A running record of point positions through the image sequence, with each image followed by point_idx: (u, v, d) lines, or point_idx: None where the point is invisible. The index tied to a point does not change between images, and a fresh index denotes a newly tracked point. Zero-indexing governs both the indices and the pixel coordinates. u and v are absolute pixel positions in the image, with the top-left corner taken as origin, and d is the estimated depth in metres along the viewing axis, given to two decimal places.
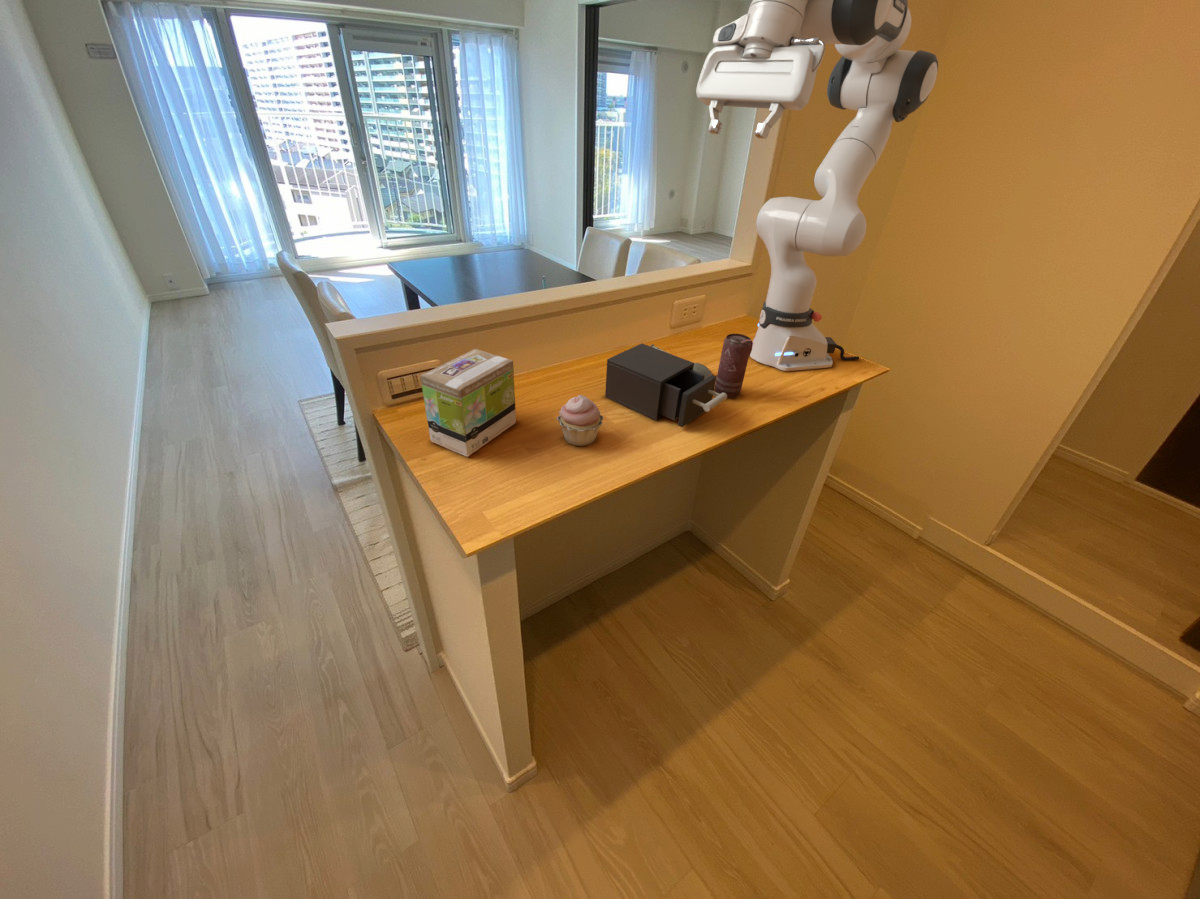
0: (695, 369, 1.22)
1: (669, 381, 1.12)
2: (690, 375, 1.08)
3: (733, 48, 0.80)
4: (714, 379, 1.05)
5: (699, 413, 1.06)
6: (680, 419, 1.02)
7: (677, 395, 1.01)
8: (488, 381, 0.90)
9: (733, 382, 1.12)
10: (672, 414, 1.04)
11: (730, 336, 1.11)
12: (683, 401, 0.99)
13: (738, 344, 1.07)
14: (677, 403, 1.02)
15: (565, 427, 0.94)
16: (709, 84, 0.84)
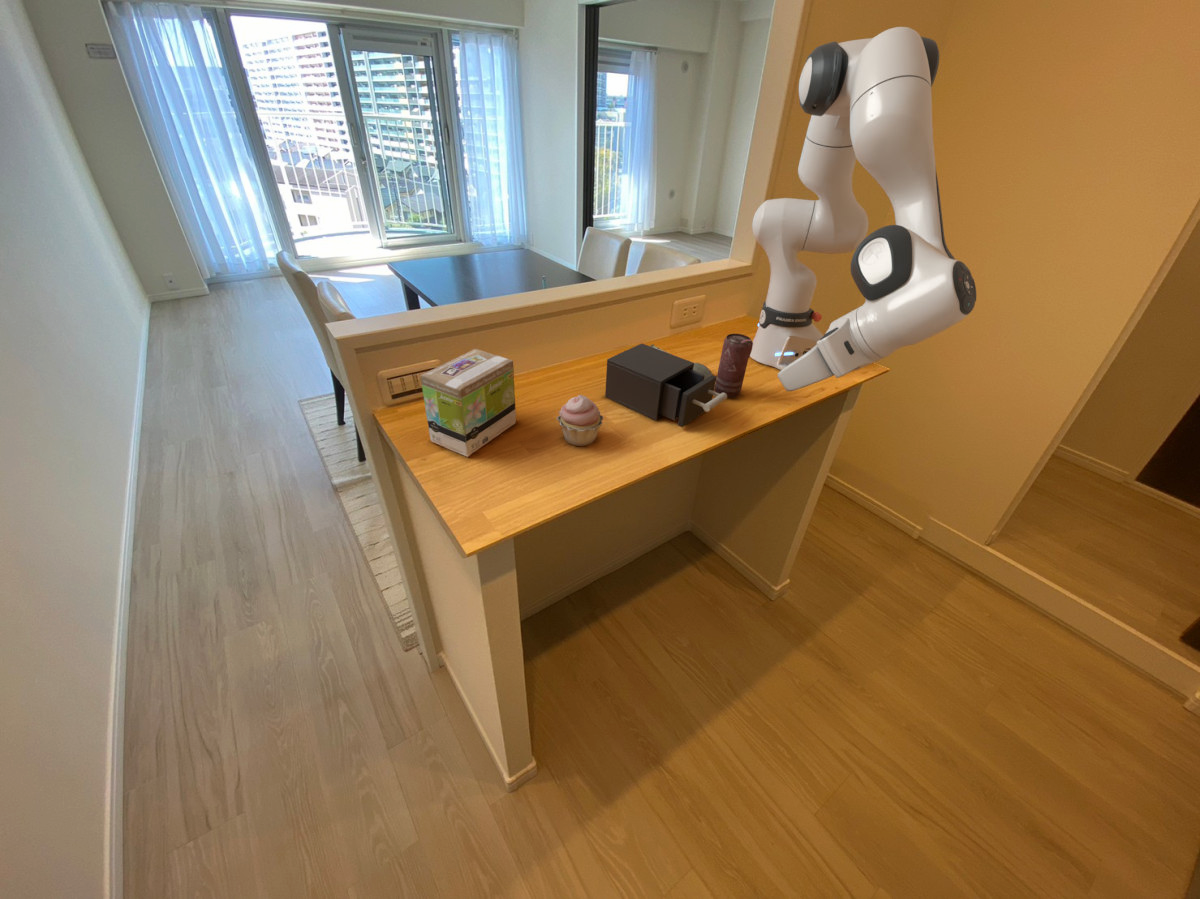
0: (695, 369, 1.22)
1: (669, 381, 1.12)
2: (690, 375, 1.08)
3: None
4: (714, 379, 1.05)
5: (699, 413, 1.06)
6: (680, 419, 1.02)
7: (677, 395, 1.01)
8: (488, 381, 0.90)
9: (733, 382, 1.12)
10: (672, 414, 1.04)
11: (730, 336, 1.11)
12: (683, 401, 0.99)
13: (738, 344, 1.07)
14: (677, 403, 1.02)
15: (565, 427, 0.94)
16: None
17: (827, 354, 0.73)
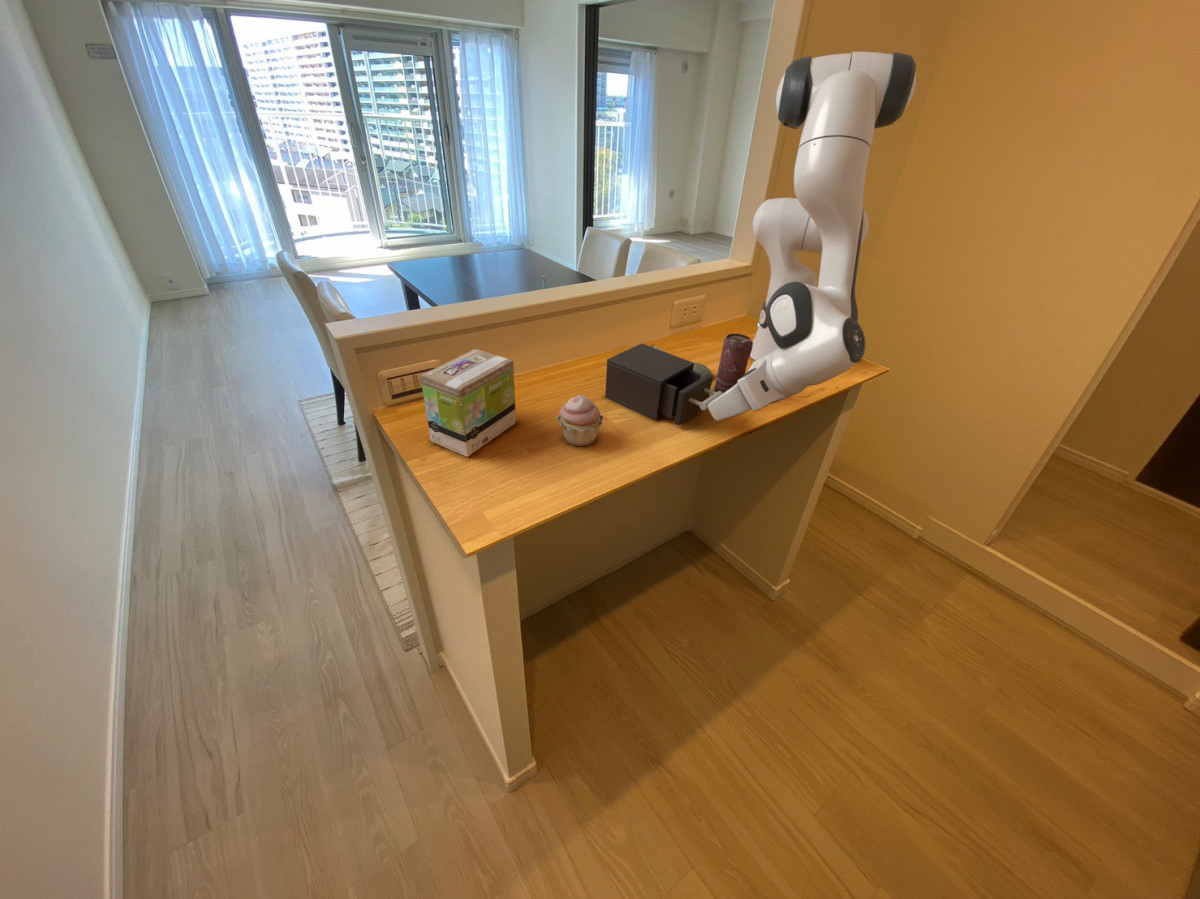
0: (695, 369, 1.22)
1: None
2: (686, 373, 1.08)
3: None
4: (710, 378, 1.05)
5: (696, 412, 1.07)
6: (677, 417, 1.02)
7: (673, 394, 1.01)
8: (488, 381, 0.90)
9: (733, 382, 1.12)
10: (668, 412, 1.04)
11: (730, 336, 1.11)
12: (679, 399, 1.00)
13: (738, 344, 1.07)
14: (674, 401, 1.02)
15: (565, 427, 0.94)
16: None
17: (745, 391, 0.85)
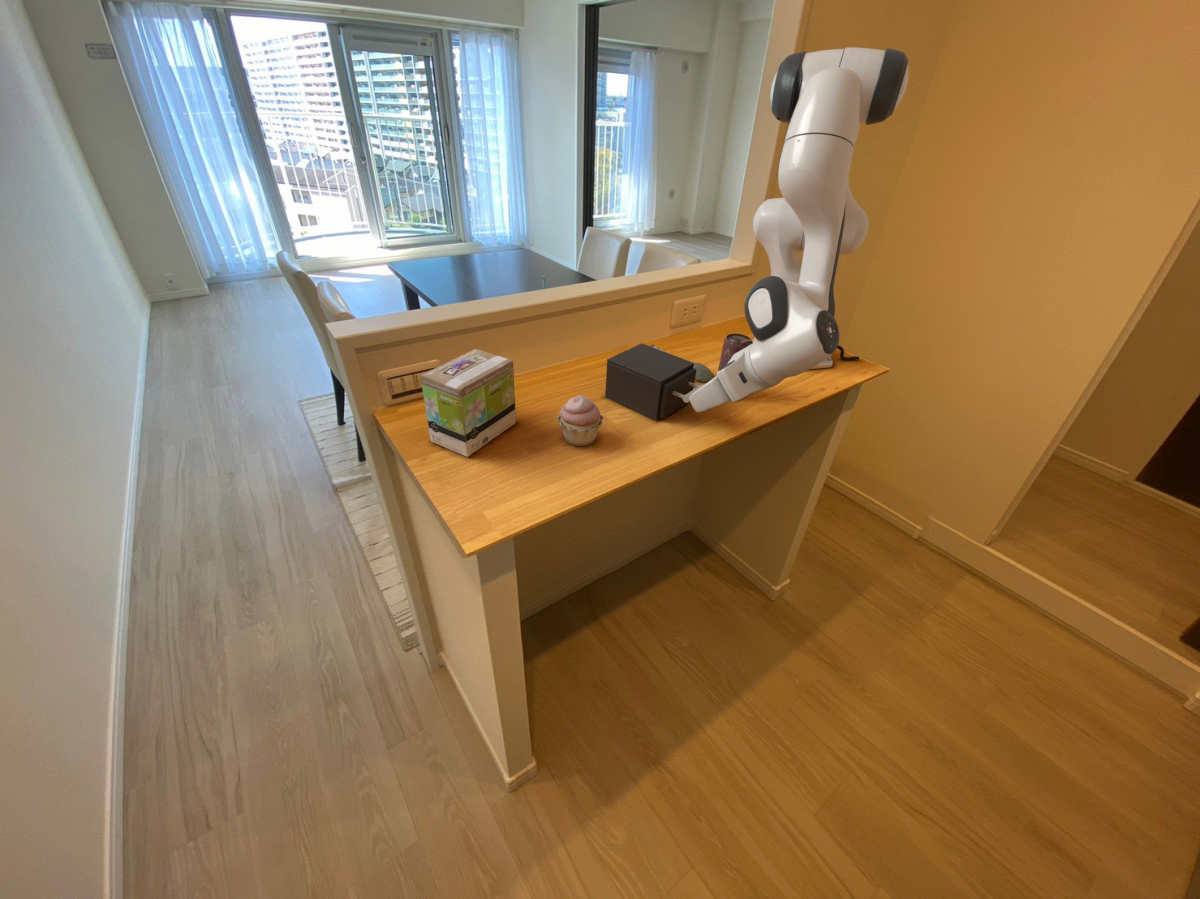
0: None
1: None
2: None
3: None
4: (694, 371, 1.07)
5: (680, 405, 1.09)
6: (660, 410, 1.04)
7: None
8: (488, 381, 0.90)
9: None
10: None
11: (730, 336, 1.11)
12: (663, 392, 1.02)
13: (738, 344, 1.07)
14: None
15: (565, 427, 0.94)
16: None
17: (724, 383, 0.88)
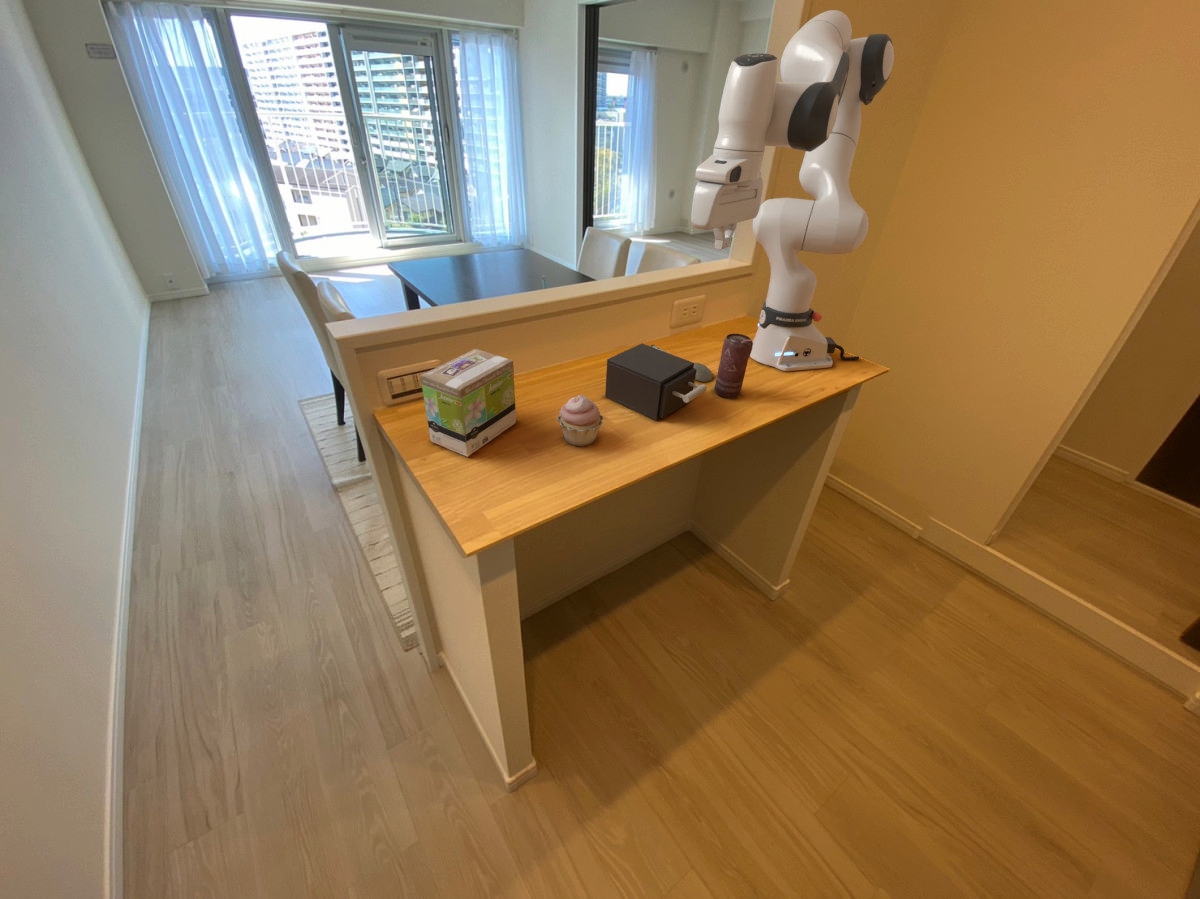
0: None
1: None
2: None
3: (736, 186, 0.86)
4: (694, 371, 1.07)
5: (680, 405, 1.09)
6: (660, 410, 1.04)
7: None
8: (488, 381, 0.90)
9: (733, 382, 1.12)
10: None
11: (730, 336, 1.11)
12: (663, 392, 1.02)
13: (738, 344, 1.07)
14: None
15: (565, 427, 0.94)
16: (716, 217, 0.87)
17: (705, 175, 0.84)
